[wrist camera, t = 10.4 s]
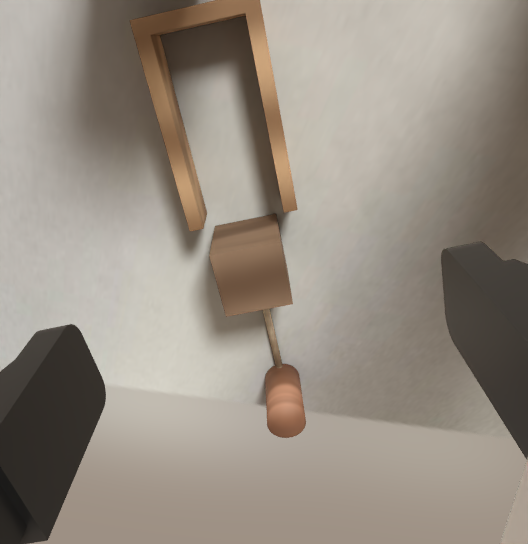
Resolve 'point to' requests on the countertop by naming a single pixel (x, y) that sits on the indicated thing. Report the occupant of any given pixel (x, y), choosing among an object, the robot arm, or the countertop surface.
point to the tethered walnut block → (260, 304)
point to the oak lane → (147, 32)
